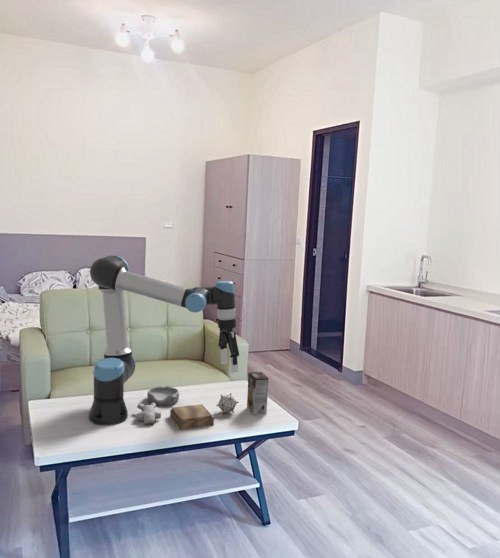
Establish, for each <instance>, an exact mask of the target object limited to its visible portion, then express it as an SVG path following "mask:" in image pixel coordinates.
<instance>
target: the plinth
mask: <svg viewBox="0 0 500 558" xmlns="http://www.w3.org/2000/svg"><path fill="white" fill-rule="evenodd" d="M169 412H170V414H169V416H170V419H171V420H172V421H173V422H174V424H175V425H176V427H177V428H178V429H179V430H188V429H196V428H205V427H211V426H214V425H215V418H214V416H213V414H212V413H211V412H210V411H209V410H208V409H207V408H206V407H205V406H204V405H203V404H201V403H200V404H194V405H193V404H192V405H185V406H184V405H183V406H176V407H175V406H174V407H171V409H170V410H169Z"/></svg>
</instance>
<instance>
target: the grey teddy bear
mask: <svg viewBox="0 0 500 558" xmlns="http://www.w3.org/2000/svg"><path fill="white" fill-rule="evenodd" d="M136 407H137V408H138V409H139V410H140V412H139V413H137V414H136V420H137V421H138V420H139V421H143V424H144V425H145V424H146V425H149V424H155V422H156V420H159V419H161V418H162V416H161V415H162V412H159V411H157V410H155V408H156V407H157V405H156V404H155V403H150V404H148V405H147V404H144V403H138V405H137V406H136Z"/></svg>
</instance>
